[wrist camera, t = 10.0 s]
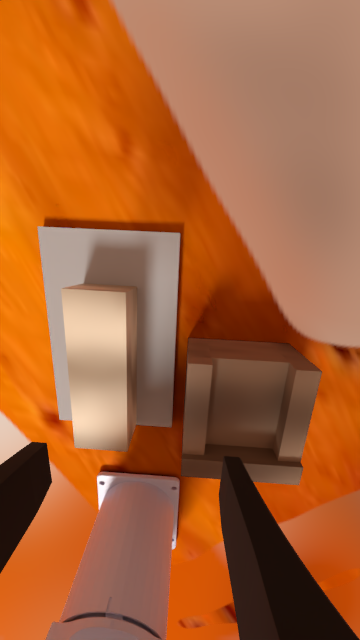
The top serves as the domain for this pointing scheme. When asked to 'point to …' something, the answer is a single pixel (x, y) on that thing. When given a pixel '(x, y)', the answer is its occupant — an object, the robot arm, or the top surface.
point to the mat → (124, 270)
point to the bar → (102, 363)
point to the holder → (247, 408)
